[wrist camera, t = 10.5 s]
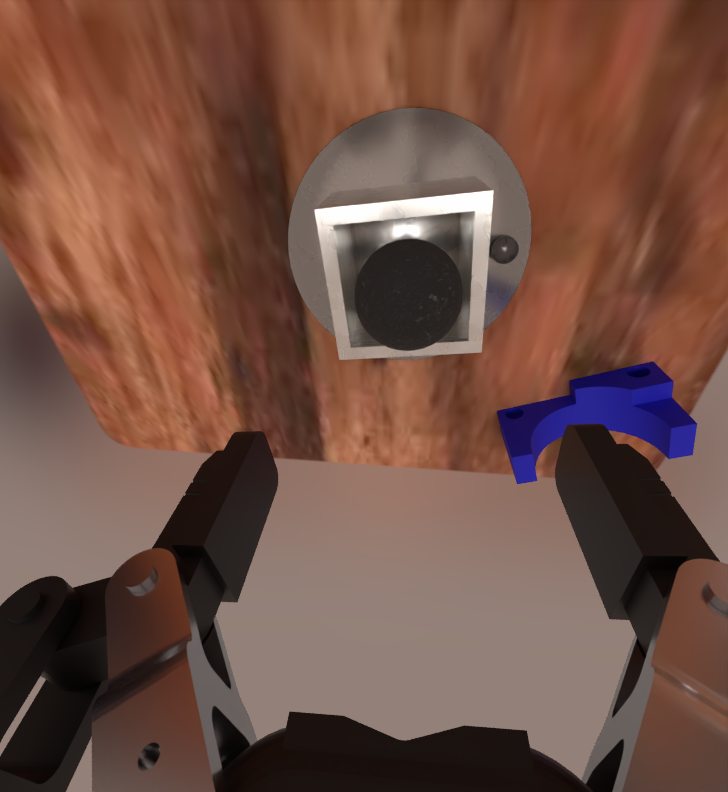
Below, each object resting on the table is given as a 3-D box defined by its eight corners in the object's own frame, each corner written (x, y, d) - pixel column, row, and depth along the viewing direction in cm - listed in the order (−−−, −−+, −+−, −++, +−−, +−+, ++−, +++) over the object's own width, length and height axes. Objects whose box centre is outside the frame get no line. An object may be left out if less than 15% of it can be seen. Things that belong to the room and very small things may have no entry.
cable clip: (651, 360, 30) (699, 406, 25) (649, 404, 32) (692, 454, 27) (493, 396, 33) (508, 443, 28) (501, 434, 35) (517, 484, 31)
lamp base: (266, 127, 23) (220, 129, 18) (545, 88, 21) (597, 76, 15) (314, 358, 32) (294, 409, 27) (513, 348, 30) (538, 400, 24)
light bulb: (409, 188, 23) (406, 230, 15) (470, 252, 25) (495, 319, 17) (350, 257, 26) (322, 322, 18) (409, 310, 28) (407, 390, 20)
